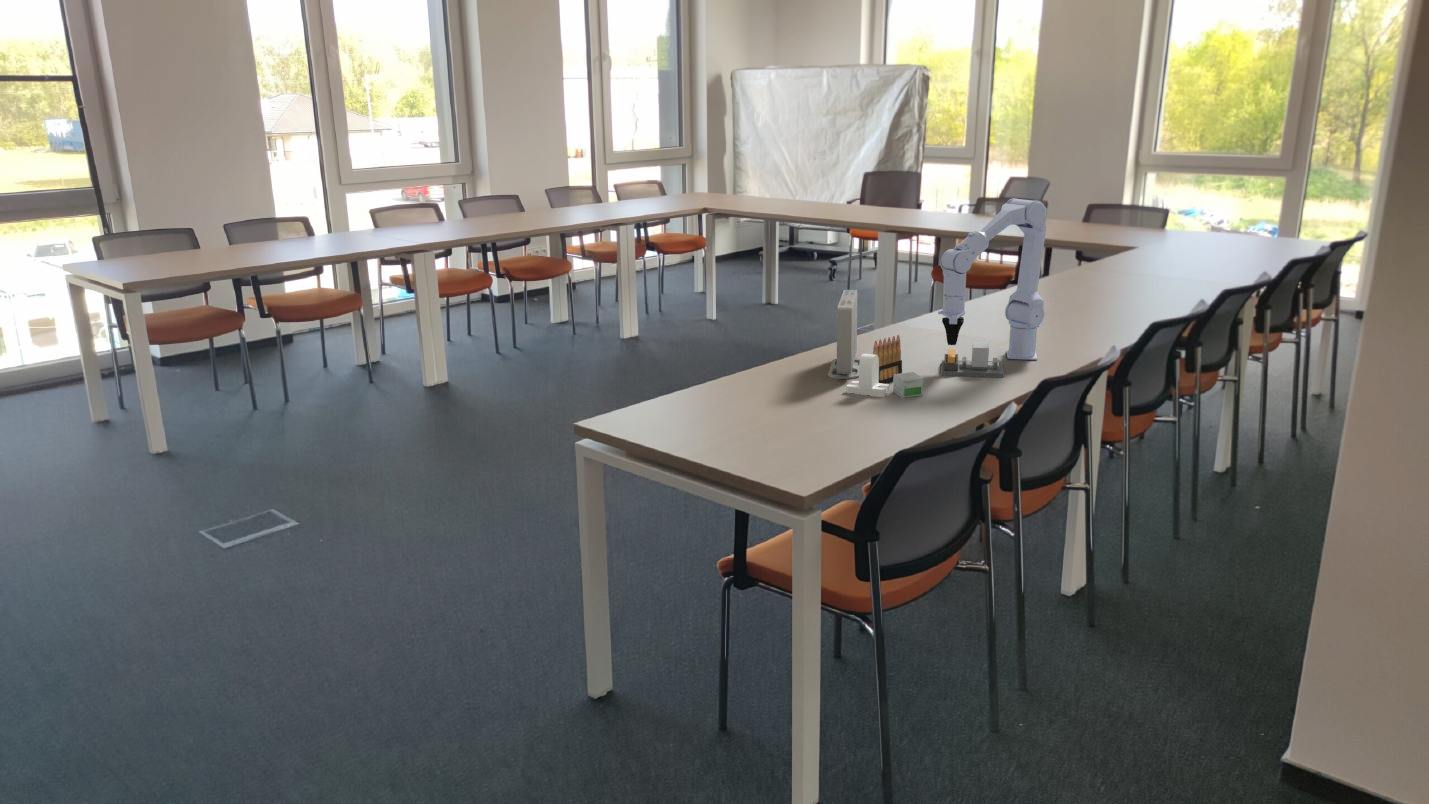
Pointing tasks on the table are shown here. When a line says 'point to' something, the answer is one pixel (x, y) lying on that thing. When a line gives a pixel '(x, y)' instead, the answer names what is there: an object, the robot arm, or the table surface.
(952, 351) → the locking tab
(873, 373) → the cable organizer
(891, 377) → the ammunition clip
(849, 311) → the network device
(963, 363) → the gray slotted fixture
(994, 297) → the table surface
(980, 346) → the block
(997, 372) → the mounting board
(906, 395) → the small box
